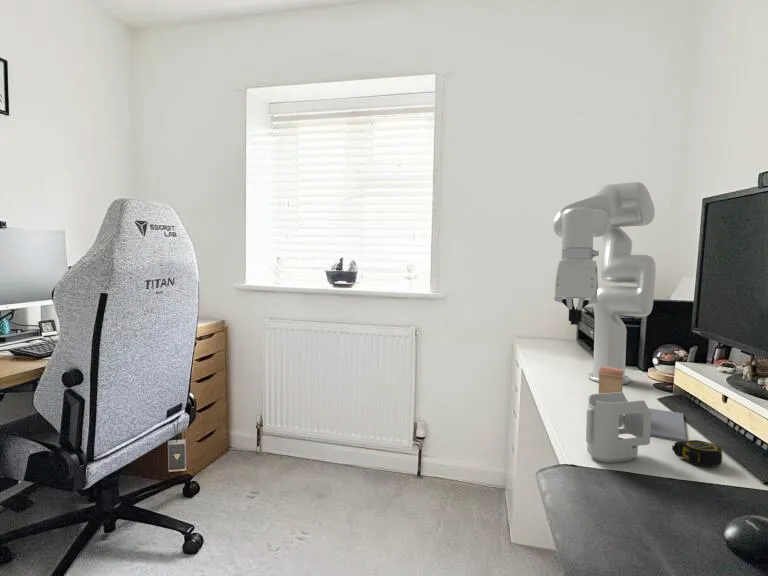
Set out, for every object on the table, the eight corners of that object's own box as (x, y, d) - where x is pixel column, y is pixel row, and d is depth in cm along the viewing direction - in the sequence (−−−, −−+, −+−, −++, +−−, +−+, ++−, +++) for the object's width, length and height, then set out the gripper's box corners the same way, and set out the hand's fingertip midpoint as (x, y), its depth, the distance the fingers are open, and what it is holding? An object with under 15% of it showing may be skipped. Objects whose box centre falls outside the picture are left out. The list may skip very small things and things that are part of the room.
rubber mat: (629, 407, 121) (630, 405, 121) (682, 415, 114) (683, 413, 114) (624, 431, 104) (624, 428, 104) (685, 442, 98) (685, 439, 97)
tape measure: (699, 454, 92) (700, 436, 92) (730, 469, 85) (731, 450, 85) (671, 456, 91) (672, 438, 91) (700, 472, 84) (701, 453, 84)
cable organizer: (652, 460, 89) (655, 399, 88) (597, 467, 86) (599, 404, 85) (626, 446, 95) (628, 389, 95) (574, 452, 93) (576, 393, 92)
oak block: (600, 410, 118) (601, 366, 117) (621, 414, 115) (623, 369, 115) (597, 416, 114) (599, 370, 113) (619, 420, 111) (621, 373, 110)
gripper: (610, 255, 116) (607, 324, 117) (550, 255, 124) (548, 320, 125) (606, 255, 110) (604, 328, 111) (544, 255, 118) (542, 323, 119)
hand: (574, 324), depth 118 cm, fingers closed
